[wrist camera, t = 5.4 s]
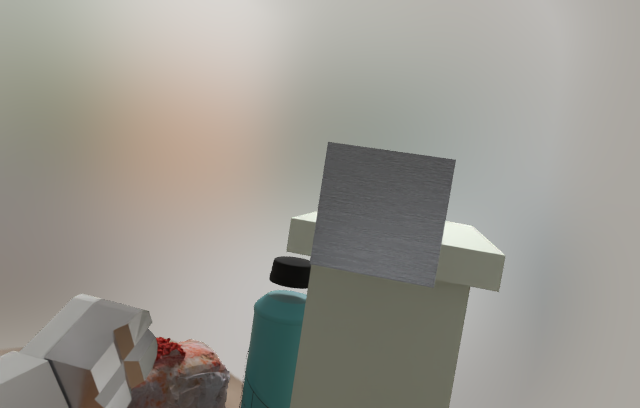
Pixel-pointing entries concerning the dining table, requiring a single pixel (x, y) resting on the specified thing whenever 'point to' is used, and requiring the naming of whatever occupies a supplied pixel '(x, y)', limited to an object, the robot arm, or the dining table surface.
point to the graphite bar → (382, 213)
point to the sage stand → (387, 326)
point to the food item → (183, 378)
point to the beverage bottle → (276, 337)
